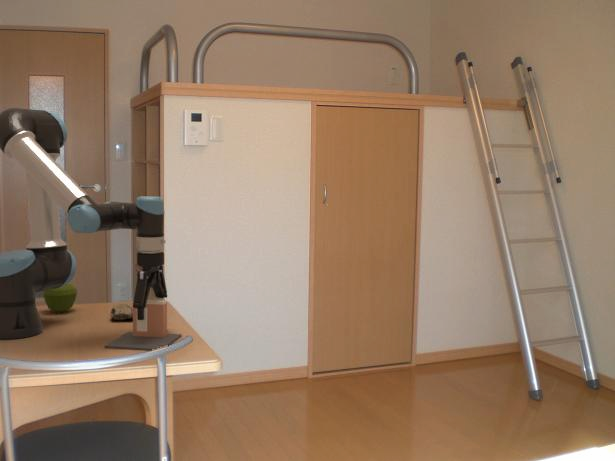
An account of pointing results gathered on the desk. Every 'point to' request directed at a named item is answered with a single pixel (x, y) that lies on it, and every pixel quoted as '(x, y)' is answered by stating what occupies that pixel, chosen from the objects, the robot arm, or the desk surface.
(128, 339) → the mat
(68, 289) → the apple
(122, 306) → the rock
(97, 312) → the desk surface
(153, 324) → the slab
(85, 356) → the desk surface
